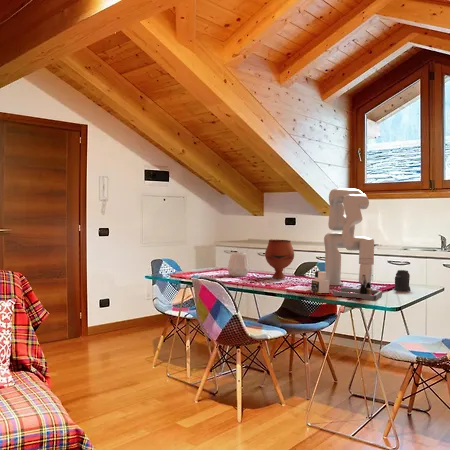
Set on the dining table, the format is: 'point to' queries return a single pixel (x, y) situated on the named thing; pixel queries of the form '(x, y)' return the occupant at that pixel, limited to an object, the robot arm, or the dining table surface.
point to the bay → (364, 296)
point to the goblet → (279, 256)
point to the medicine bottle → (320, 283)
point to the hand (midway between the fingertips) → (365, 293)
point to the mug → (402, 281)
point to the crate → (368, 291)
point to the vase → (238, 264)
